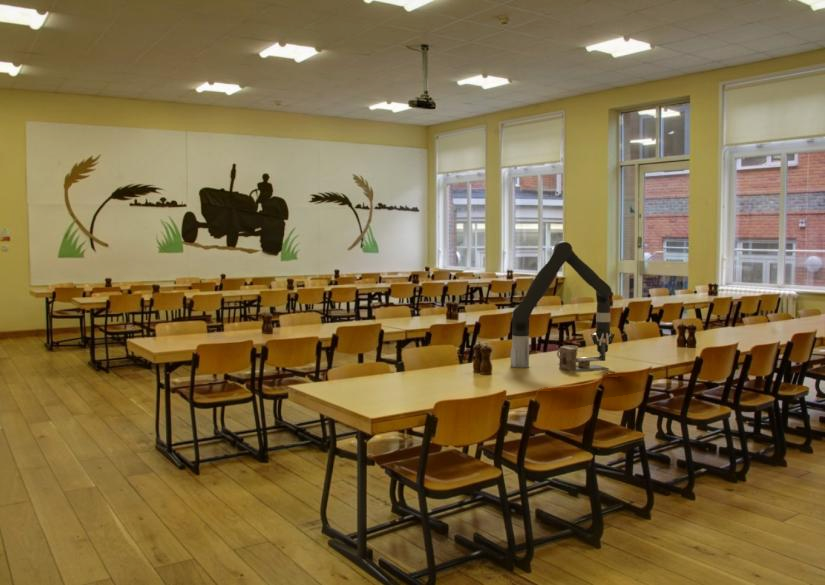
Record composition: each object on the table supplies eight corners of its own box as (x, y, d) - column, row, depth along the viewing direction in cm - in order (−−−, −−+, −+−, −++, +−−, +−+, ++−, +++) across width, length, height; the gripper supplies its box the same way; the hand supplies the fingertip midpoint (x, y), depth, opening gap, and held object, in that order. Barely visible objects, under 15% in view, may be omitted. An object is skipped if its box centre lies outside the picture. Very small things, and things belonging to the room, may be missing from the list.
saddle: (583, 369, 388) (583, 360, 388) (578, 368, 393) (578, 359, 393) (589, 369, 389) (589, 360, 389) (584, 367, 394) (584, 358, 394)
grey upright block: (569, 371, 383) (569, 349, 382) (559, 368, 392) (559, 346, 391) (575, 371, 384) (576, 348, 383) (566, 368, 393) (566, 346, 393)
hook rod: (573, 363, 387) (573, 339, 386) (569, 362, 390) (570, 338, 389) (607, 361, 393) (607, 337, 392) (603, 360, 397) (603, 336, 396)
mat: (569, 371, 382) (569, 370, 382) (559, 368, 393) (559, 367, 393) (608, 369, 390) (608, 368, 390) (597, 365, 400) (597, 364, 400)
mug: (573, 365, 401) (574, 347, 400) (553, 363, 409) (553, 345, 408) (580, 363, 408) (580, 346, 407) (559, 361, 415) (559, 344, 415)
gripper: (595, 321, 387) (595, 353, 389) (618, 320, 392) (617, 352, 393) (588, 320, 394) (587, 351, 396) (610, 319, 399) (609, 350, 400)
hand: (602, 351), depth 394 cm, fingers closed on hook rod, 3 cm apart
